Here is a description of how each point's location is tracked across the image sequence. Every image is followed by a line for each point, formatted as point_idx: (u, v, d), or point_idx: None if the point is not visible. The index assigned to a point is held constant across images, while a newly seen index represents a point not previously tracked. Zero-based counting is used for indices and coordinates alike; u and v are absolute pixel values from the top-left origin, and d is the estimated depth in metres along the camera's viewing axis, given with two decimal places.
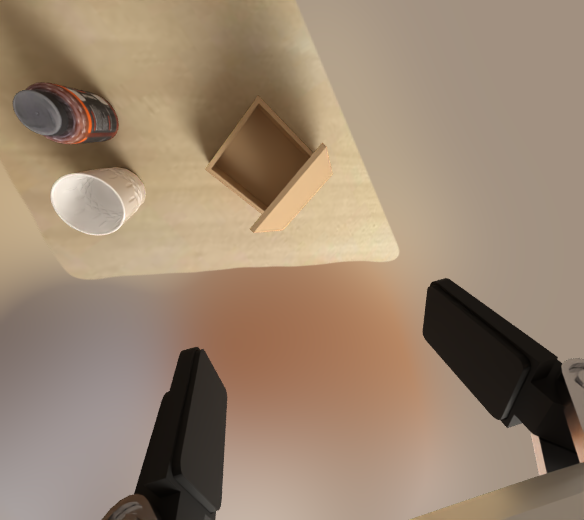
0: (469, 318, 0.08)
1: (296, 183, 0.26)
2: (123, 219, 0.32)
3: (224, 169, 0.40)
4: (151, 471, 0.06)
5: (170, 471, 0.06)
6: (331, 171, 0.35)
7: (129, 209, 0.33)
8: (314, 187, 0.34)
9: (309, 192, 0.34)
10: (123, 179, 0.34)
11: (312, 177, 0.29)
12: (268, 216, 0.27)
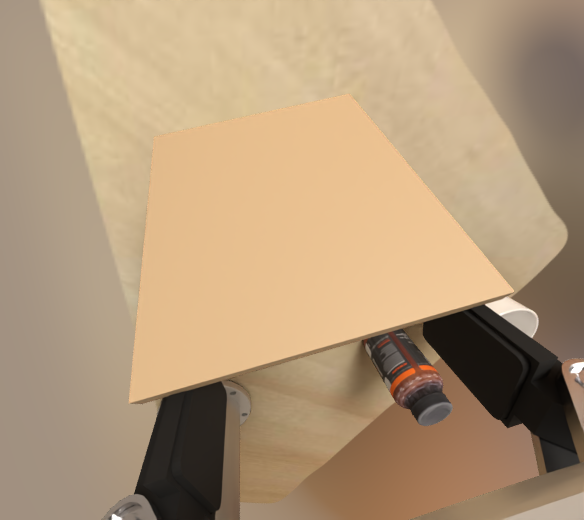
0: (469, 318, 0.08)
1: (287, 342, 0.07)
2: (501, 314, 0.22)
3: None
4: (151, 471, 0.06)
5: (170, 471, 0.06)
6: (153, 160, 0.13)
7: None
8: (219, 165, 0.12)
9: (239, 165, 0.12)
10: None
11: (217, 252, 0.09)
12: (432, 299, 0.08)
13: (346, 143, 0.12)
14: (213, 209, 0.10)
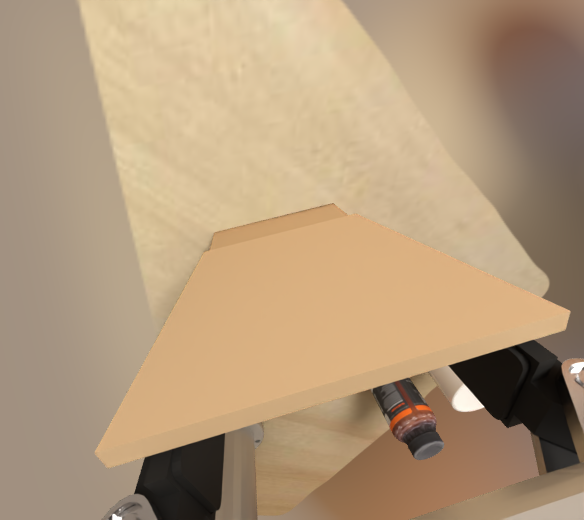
0: None
1: (294, 378, 0.06)
2: None
3: None
4: (151, 471, 0.06)
5: (170, 471, 0.06)
6: (199, 263, 0.16)
7: None
8: (249, 259, 0.14)
9: (265, 257, 0.14)
10: None
11: (234, 310, 0.10)
12: (466, 326, 0.06)
13: (355, 235, 0.14)
14: (238, 283, 0.12)
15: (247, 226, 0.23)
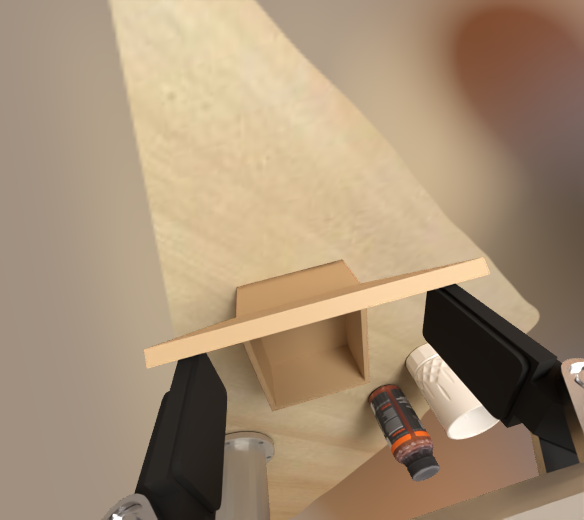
0: (469, 318, 0.08)
1: (285, 310, 0.08)
2: (476, 407, 0.28)
3: (344, 337, 0.32)
4: (151, 471, 0.06)
5: (170, 471, 0.06)
6: (229, 319, 0.19)
7: (458, 397, 0.30)
8: (269, 309, 0.17)
9: (282, 305, 0.17)
10: (426, 393, 0.34)
11: (251, 316, 0.12)
12: (411, 276, 0.09)
13: None
14: (257, 313, 0.14)
15: (266, 282, 0.26)
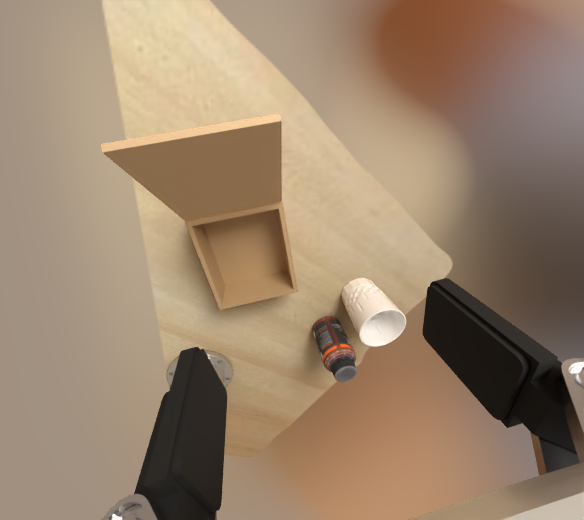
0: (469, 318, 0.08)
1: None
2: (378, 312, 0.37)
3: (284, 263, 0.41)
4: (151, 471, 0.06)
5: (170, 471, 0.06)
6: None
7: (368, 308, 0.38)
8: None
9: None
10: (350, 313, 0.42)
11: None
12: None
13: None
14: None
15: None
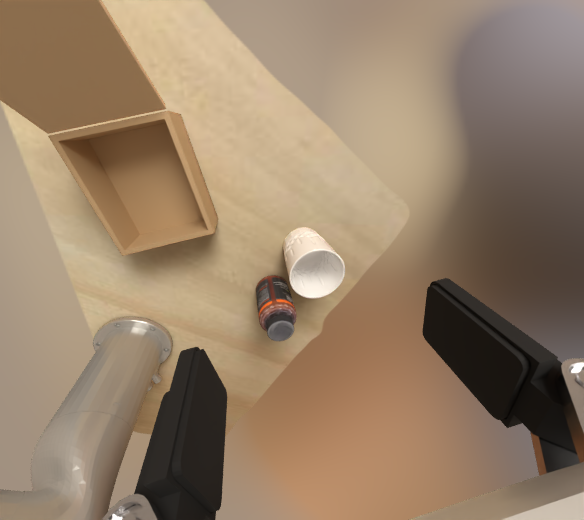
0: (469, 318, 0.08)
1: None
2: (308, 252, 0.31)
3: None
4: (151, 471, 0.06)
5: (170, 471, 0.06)
6: None
7: (299, 250, 0.33)
8: None
9: None
10: None
11: None
12: None
13: None
14: None
15: None
